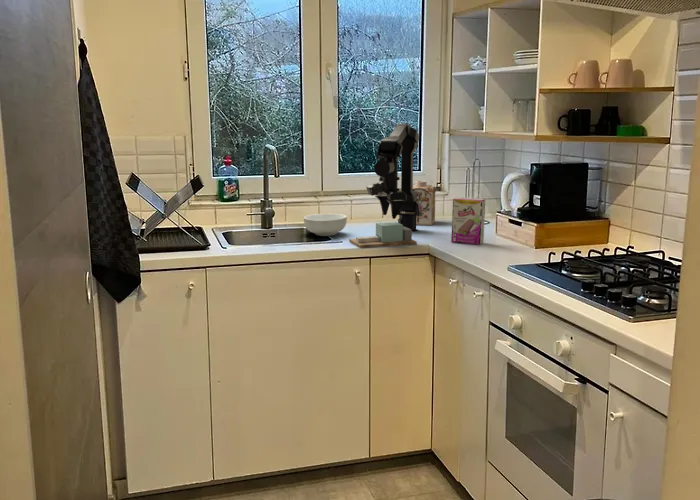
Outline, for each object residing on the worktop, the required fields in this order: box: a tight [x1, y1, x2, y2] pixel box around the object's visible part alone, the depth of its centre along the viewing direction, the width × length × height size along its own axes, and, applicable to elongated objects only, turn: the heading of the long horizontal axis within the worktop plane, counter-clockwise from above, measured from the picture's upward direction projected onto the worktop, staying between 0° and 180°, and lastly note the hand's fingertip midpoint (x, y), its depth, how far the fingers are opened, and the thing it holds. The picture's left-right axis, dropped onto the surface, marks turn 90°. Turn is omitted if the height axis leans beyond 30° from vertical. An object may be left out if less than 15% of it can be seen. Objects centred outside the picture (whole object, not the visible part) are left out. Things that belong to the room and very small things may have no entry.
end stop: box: [402, 227, 413, 241], centre depth 266 cm, size 2×7×4 cm, turn 18°
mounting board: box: [348, 238, 418, 249], centre depth 263 cm, size 22×12×1 cm, turn 108°
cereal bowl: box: [303, 213, 347, 237], centre depth 281 cm, size 17×17×7 cm
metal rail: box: [355, 235, 403, 243], centre depth 263 cm, size 20×3×2 cm, turn 108°
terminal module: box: [375, 221, 403, 242], centre depth 264 cm, size 8×6×6 cm
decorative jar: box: [409, 180, 437, 226], centre depth 306 cm, size 12×12×18 cm
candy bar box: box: [451, 196, 486, 246], centre depth 263 cm, size 11×5×16 cm, turn 65°
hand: (389, 216), depth 262 cm, fingers open, 9 cm apart
